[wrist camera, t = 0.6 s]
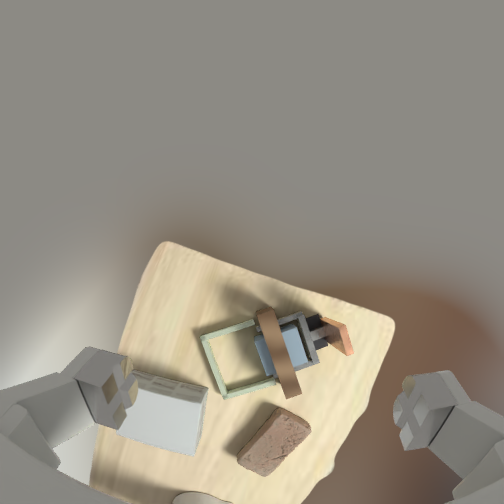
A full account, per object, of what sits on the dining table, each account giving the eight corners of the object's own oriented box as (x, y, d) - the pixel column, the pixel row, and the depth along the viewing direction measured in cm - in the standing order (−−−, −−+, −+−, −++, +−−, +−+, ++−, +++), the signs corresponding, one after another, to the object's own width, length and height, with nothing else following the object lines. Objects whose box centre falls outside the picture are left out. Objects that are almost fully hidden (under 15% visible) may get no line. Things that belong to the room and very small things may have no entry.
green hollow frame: (275, 381, 55) (276, 384, 53) (224, 396, 54) (223, 399, 52) (253, 318, 56) (253, 319, 54) (201, 335, 56) (199, 336, 54)
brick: (265, 469, 52) (266, 480, 47) (235, 454, 53) (234, 465, 48) (309, 420, 54) (313, 430, 49) (278, 404, 54) (280, 412, 50)
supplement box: (131, 418, 54) (115, 434, 44) (134, 368, 55) (115, 380, 46) (202, 437, 53) (194, 458, 44) (209, 387, 55) (201, 403, 45)
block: (302, 354, 56) (308, 361, 50) (265, 367, 55) (266, 376, 49) (292, 323, 56) (296, 327, 50) (254, 336, 56) (254, 341, 50)
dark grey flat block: (327, 345, 56) (328, 345, 55) (314, 350, 55) (314, 350, 55) (317, 314, 56) (318, 314, 56) (304, 319, 56) (304, 319, 56)
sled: (336, 352, 55) (358, 369, 41) (273, 375, 54) (278, 399, 41) (320, 303, 56) (340, 307, 43) (255, 326, 56) (256, 337, 42)
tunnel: (295, 379, 55) (302, 393, 46) (281, 384, 55) (286, 399, 46) (270, 306, 57) (273, 309, 48) (256, 311, 57) (256, 315, 48)
